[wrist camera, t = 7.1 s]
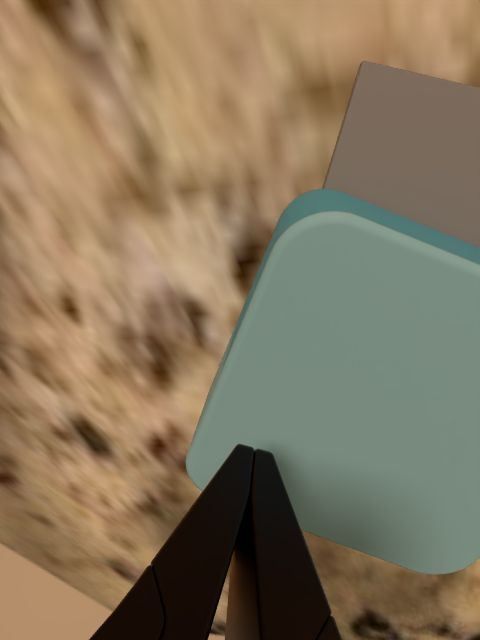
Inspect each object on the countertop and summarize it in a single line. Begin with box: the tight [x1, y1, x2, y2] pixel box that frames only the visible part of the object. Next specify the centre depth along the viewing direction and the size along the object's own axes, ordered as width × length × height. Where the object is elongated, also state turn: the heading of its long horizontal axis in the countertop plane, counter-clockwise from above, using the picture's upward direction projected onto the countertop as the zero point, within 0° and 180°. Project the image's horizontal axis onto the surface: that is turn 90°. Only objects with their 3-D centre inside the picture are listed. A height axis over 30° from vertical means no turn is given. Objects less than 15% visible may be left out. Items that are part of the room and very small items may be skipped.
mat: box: [322, 61, 480, 248], centre depth 16 cm, size 12×18×1 cm
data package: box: [186, 189, 480, 574], centre depth 14 cm, size 12×4×12 cm
